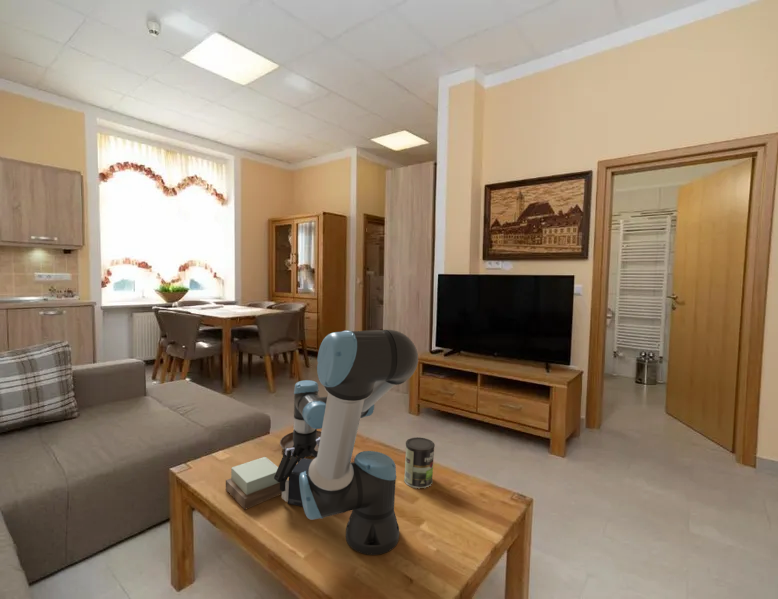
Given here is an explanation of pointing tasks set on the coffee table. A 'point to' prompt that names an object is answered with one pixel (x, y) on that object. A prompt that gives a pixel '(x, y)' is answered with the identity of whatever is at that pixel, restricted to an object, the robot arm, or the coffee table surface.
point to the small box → (297, 482)
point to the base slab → (252, 494)
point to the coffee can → (419, 462)
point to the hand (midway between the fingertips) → (303, 491)
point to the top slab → (254, 475)
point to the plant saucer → (288, 441)
